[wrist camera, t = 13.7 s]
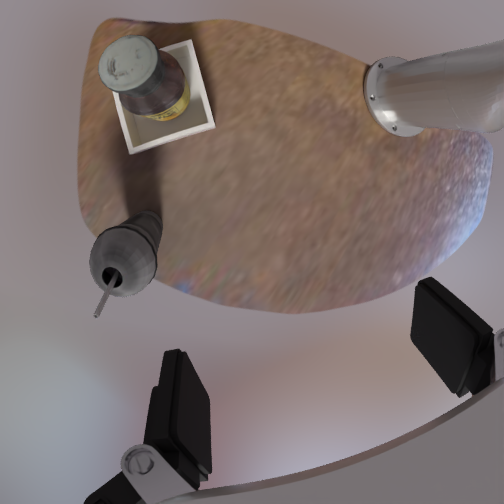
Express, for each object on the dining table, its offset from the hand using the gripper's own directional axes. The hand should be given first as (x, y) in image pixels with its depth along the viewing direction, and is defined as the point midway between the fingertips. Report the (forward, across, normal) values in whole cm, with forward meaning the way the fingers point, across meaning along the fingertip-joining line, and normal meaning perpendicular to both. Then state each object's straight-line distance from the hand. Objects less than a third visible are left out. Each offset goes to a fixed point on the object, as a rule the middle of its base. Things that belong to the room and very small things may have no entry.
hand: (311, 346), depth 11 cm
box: (+30, +7, -15) cm, 34 cm away
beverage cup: (+30, +14, +1) cm, 33 cm away
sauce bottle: (+30, +6, -15) cm, 34 cm away
